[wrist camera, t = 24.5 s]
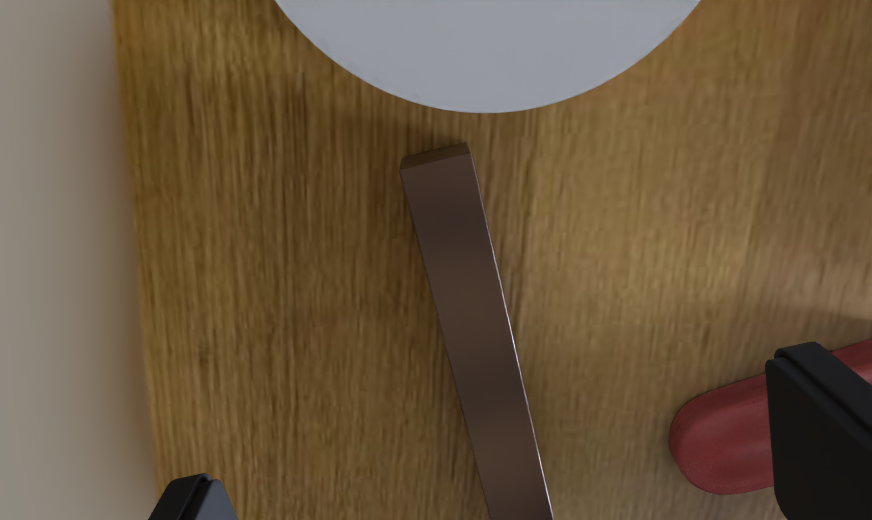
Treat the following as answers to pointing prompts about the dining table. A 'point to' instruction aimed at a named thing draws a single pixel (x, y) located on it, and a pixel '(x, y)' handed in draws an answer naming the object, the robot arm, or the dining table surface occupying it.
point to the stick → (476, 329)
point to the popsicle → (738, 431)
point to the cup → (486, 45)
